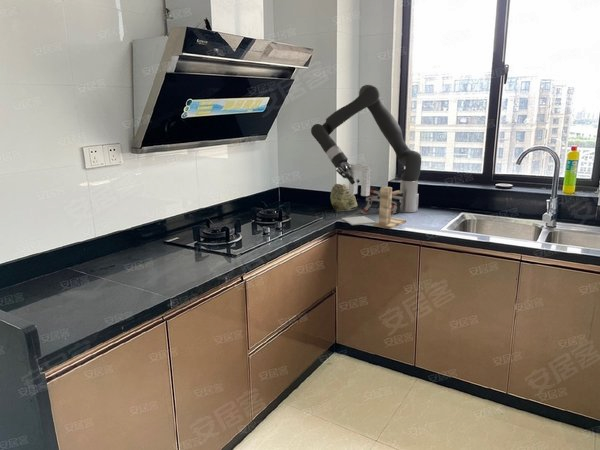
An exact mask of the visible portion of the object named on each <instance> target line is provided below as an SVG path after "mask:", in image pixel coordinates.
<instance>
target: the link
mask: <svg viewBox="0 0 600 450" xmlns="http://www.w3.org/2000/svg"><path fill="white" fill-rule="evenodd" d="M349 164H350V171H349V173H350V175H351V176H352V178H353V179H354V180H355V183H354V184H351V183H350V181H349V180H348V186H349V194H354V195H358V187H359V186H358V179H359V172H361V186H360V187H361V188H360V196H362V197H368V196H369V195H370V189H371V177H372V176H371V174H372V171H371V165H369V164H359V163H358V164H357V163H349Z"/></svg>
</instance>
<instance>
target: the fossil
mask: <svg viewBox="0 0 600 450" xmlns="http://www.w3.org/2000/svg"><path fill="white" fill-rule="evenodd" d="M329 198H330V203H331V205H332V208H333V210H334V212H347V211H352V210H356V209H358V202H357V199H356V196H355V194H349V185H346V184H341V183H334V185H333V186H332V188H331V190H330V197H329Z"/></svg>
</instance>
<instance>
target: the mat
mask: <svg viewBox="0 0 600 450" xmlns="http://www.w3.org/2000/svg"><path fill="white" fill-rule="evenodd" d="M341 220H342V221H344V222H346V223H348V224H349V225H351V226H361V225H369V224H374V223H376V221H375V220H373V219H371V218H369V217H367V216H365V215H364V216H363V215H362V216H351V217H341Z"/></svg>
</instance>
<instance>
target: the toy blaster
mask: <svg viewBox="0 0 600 450" xmlns="http://www.w3.org/2000/svg"><path fill="white" fill-rule="evenodd" d="M380 190H381V189H379V188H377V187H375V186H372V187H370V195H369V196H365V204H364V205H363V206H362V207H360V210H359V211H360V212H359V213H361V214H363V215H364V214H365V215H368V213H369V210H370V209H371V208H373V209H376V210H378V209H380ZM402 197H403V193H401V194H400V193H399V194H396V195H393V196H392V201H391V215H394V214H395V213H396V214H397V213H398V212H401V211H400V210H401V208H400V206H401V202H400V200H402V199H403V198H402ZM397 200H399V201H397ZM375 202H376V203H377V202H378V203H379V205H377V206H373V205H374V203H375Z"/></svg>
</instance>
